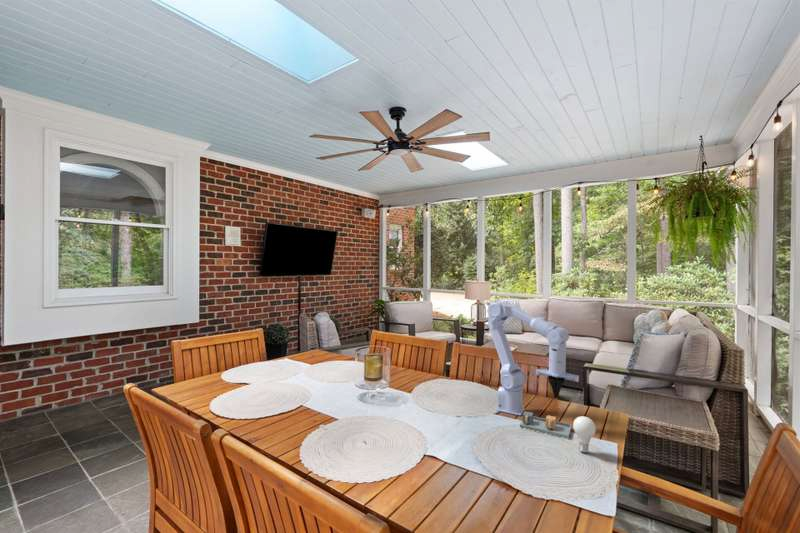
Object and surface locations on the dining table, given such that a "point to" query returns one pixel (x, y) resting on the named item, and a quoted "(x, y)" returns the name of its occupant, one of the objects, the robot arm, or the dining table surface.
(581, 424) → the lightbulb
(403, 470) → the dining table surface
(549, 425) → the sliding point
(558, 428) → the gauge board
